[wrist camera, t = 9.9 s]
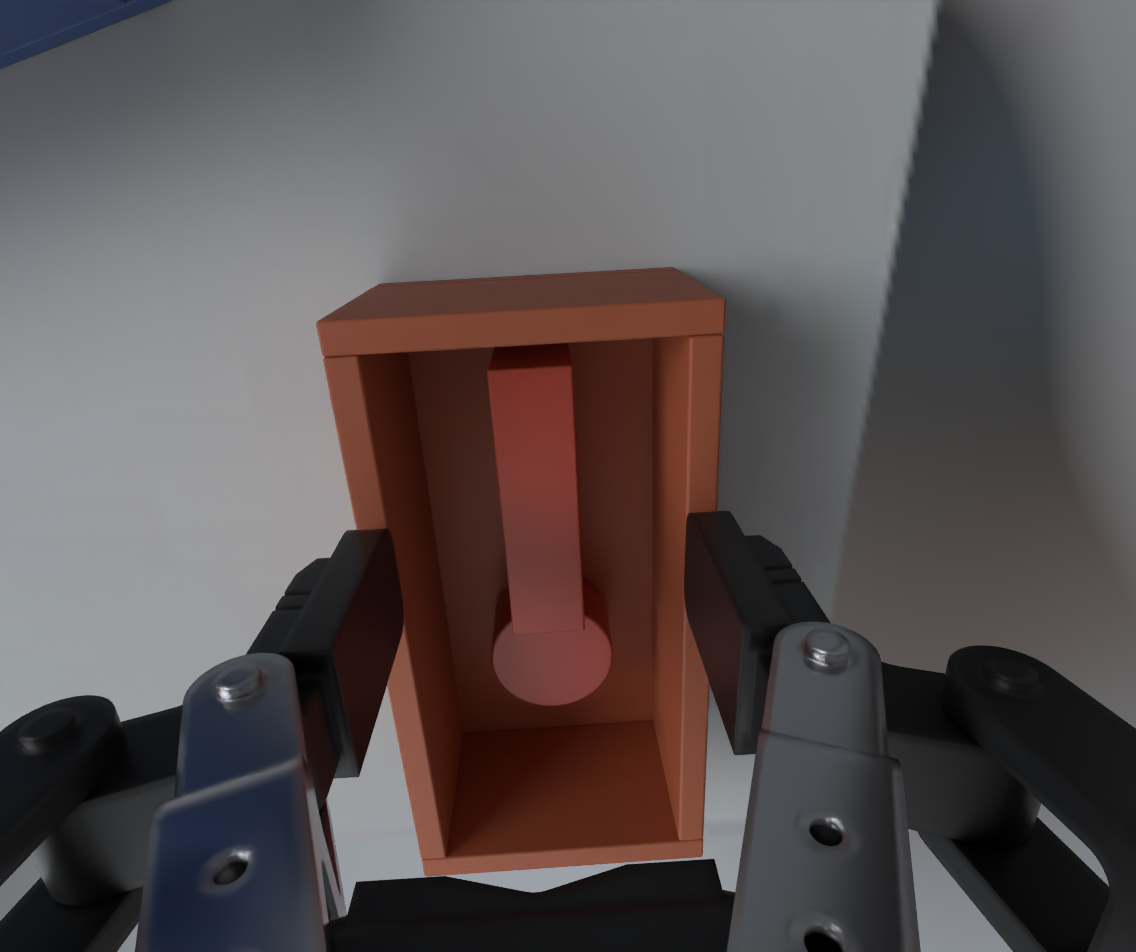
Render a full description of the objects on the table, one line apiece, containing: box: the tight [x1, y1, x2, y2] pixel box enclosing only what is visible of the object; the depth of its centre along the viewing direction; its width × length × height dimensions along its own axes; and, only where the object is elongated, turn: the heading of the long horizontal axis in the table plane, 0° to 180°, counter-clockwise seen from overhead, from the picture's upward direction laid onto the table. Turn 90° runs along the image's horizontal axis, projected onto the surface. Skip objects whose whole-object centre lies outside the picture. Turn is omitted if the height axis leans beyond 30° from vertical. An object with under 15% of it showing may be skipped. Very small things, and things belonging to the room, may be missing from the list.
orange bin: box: [316, 267, 726, 876], centre depth 16 cm, size 13×7×5 cm, turn 3°
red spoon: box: [487, 343, 613, 706], centre depth 16 cm, size 9×3×3 cm, turn 3°
